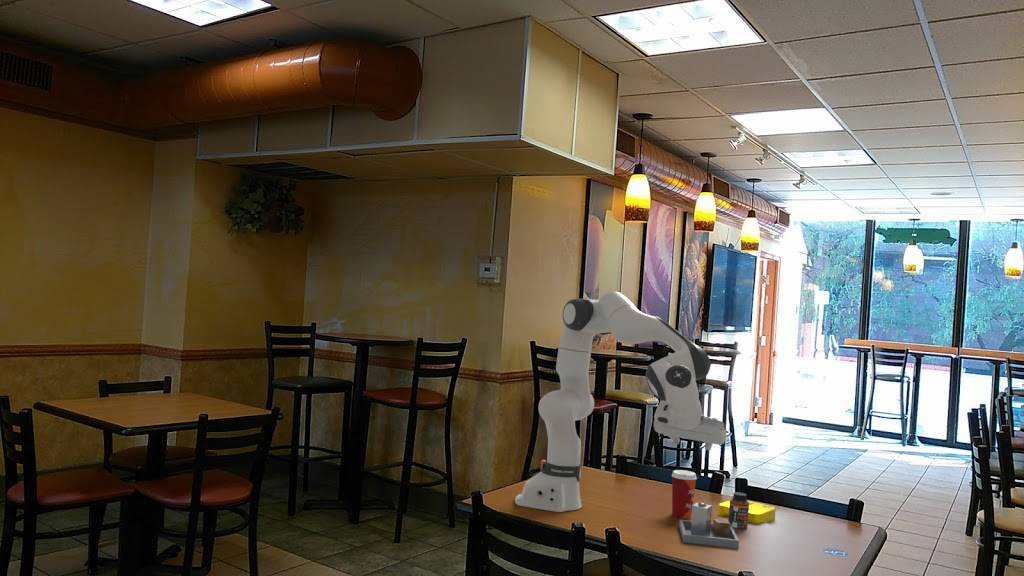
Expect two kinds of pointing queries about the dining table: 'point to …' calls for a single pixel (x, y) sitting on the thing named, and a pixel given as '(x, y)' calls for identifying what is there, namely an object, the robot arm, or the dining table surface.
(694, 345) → the robot arm
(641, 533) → the dining table surface
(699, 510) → the steel part
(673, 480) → the coffee cup
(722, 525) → the walnut block
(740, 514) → the supplement bottle
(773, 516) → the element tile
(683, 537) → the tray
